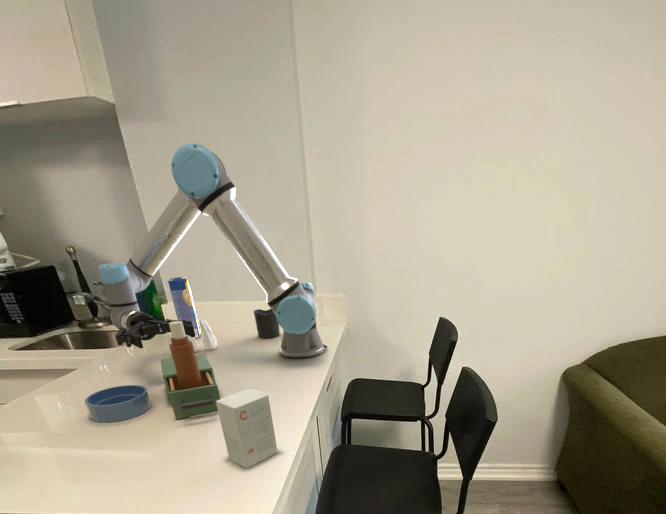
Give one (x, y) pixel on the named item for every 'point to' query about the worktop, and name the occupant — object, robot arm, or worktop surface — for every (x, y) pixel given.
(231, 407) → the small box
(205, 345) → the shaker set
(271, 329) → the pen holder
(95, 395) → the bowl
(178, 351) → the bottle
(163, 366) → the cabinet
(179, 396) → the drawer
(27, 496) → the worktop surface
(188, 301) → the beverage box
